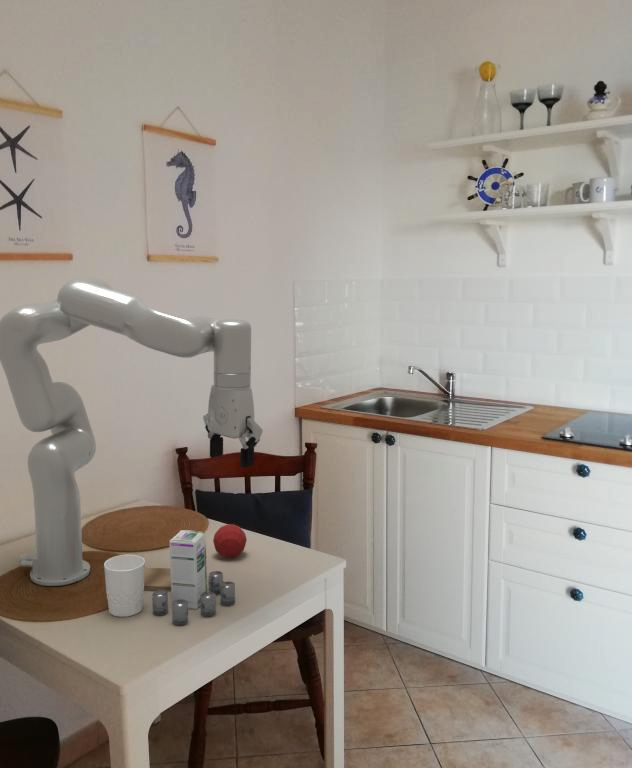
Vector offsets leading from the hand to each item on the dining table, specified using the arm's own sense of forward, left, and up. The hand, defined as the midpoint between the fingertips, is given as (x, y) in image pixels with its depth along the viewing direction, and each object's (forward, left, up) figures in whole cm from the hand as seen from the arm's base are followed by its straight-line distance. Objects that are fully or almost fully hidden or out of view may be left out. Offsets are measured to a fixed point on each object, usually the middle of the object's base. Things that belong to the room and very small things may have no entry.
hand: (231, 461), depth 148 cm
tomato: (-3, +18, -29) cm, 34 cm away
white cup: (-20, -10, -29) cm, 36 cm away
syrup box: (-8, -6, -29) cm, 30 cm away
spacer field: (-6, -6, -29) cm, 30 cm away
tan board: (-18, +3, -29) cm, 34 cm away
